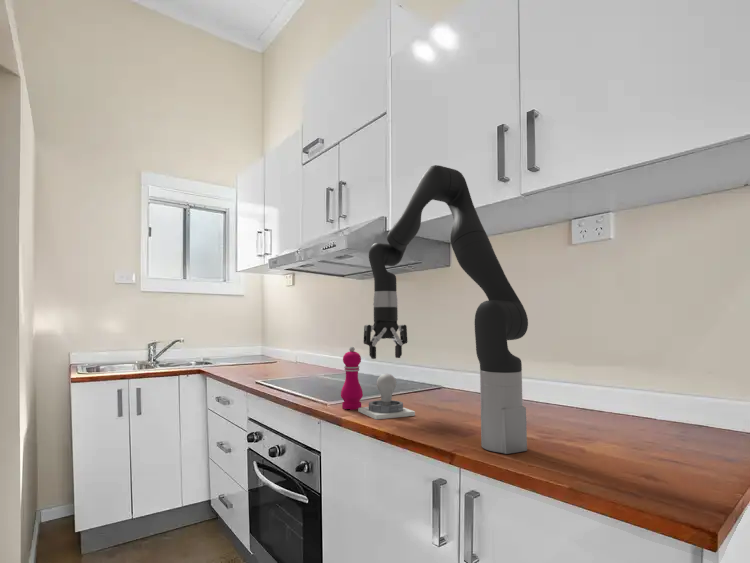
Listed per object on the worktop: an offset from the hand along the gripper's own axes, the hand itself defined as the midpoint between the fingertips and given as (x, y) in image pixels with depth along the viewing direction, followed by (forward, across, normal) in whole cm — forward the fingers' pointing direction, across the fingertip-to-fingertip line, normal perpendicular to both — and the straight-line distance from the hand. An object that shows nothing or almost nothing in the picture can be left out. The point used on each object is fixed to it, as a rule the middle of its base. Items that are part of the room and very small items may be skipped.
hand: (385, 358), depth 145 cm
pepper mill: (+17, -6, +13) cm, 22 cm away
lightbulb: (+16, 0, 0) cm, 16 cm away
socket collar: (+16, 0, 0) cm, 16 cm away
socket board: (+17, 0, 0) cm, 17 cm away
